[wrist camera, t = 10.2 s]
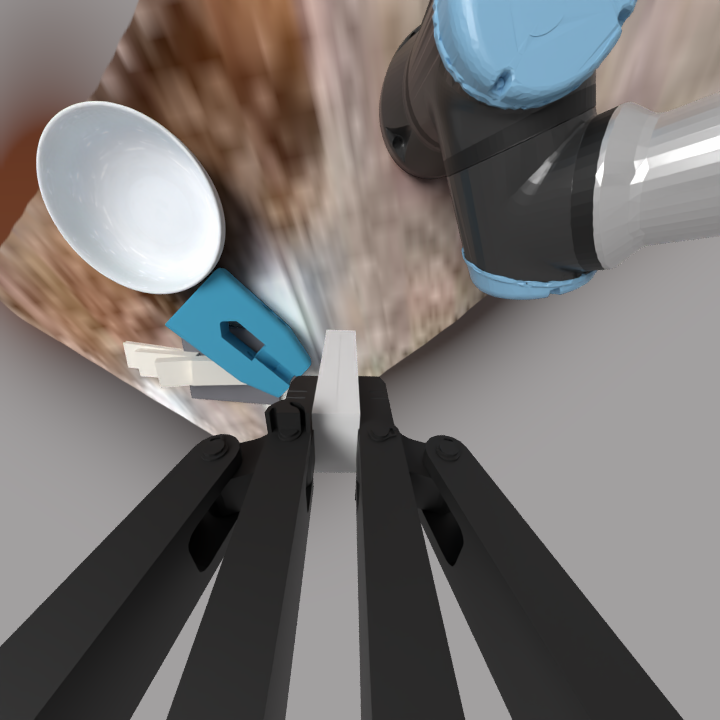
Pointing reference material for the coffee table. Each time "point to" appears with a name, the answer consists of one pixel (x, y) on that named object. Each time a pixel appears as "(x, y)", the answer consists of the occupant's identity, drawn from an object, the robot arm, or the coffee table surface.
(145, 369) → the domino
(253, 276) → the coffee table surface
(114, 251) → the serving bowl
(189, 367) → the domino
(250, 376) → the block
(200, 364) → the domino
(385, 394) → the robot arm
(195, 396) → the domino mat
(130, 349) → the domino
